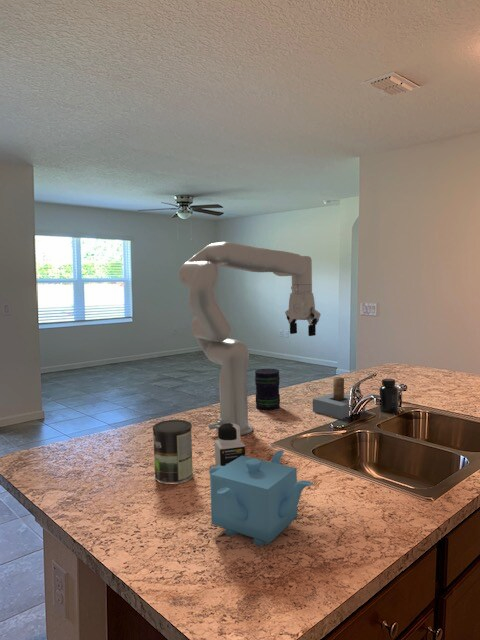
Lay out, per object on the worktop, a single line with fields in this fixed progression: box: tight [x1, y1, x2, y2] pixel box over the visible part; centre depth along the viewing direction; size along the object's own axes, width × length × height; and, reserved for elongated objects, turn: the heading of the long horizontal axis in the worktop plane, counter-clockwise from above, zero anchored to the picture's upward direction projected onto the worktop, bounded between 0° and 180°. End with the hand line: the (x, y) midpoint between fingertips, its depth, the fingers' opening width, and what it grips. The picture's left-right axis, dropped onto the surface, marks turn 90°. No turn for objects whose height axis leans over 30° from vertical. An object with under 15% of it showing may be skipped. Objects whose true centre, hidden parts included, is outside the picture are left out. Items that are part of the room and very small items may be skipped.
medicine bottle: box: [214, 423, 246, 466], centre depth 131 cm, size 7×7×12 cm
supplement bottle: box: [379, 378, 399, 413], centre depth 180 cm, size 7×7×12 cm
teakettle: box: [209, 449, 314, 547], centre depth 98 cm, size 19×19×15 cm
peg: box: [332, 376, 345, 402], centre depth 180 cm, size 4×4×12 cm
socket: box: [312, 393, 366, 420], centre depth 181 cm, size 14×14×5 cm
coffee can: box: [152, 419, 194, 484], centre depth 125 cm, size 10×10×14 cm
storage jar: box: [254, 368, 281, 412], centre depth 188 cm, size 10×10×15 cm
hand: (302, 334), depth 178 cm, fingers open, 9 cm apart
